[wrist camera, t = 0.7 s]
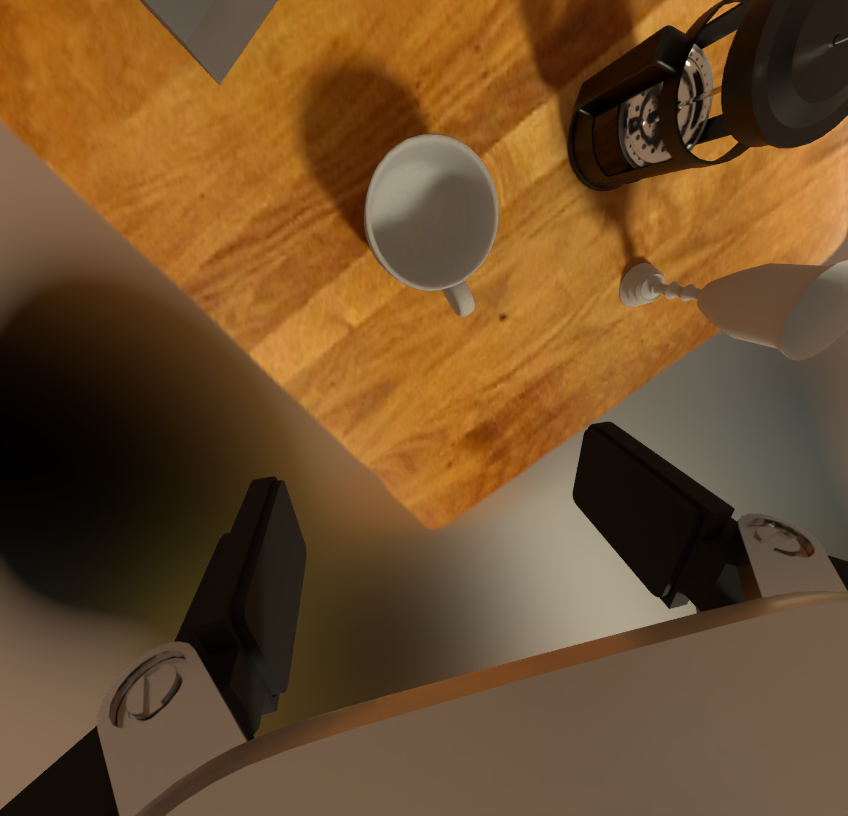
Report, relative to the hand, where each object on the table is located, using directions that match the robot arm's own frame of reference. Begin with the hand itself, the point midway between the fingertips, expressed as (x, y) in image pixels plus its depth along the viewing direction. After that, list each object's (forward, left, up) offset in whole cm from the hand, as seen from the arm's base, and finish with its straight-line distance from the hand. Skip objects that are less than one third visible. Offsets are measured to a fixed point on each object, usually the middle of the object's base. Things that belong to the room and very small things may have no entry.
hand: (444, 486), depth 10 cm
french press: (-28, +4, -29) cm, 41 cm away
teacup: (-8, -2, -29) cm, 30 cm away
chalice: (-24, +20, -29) cm, 43 cm away
